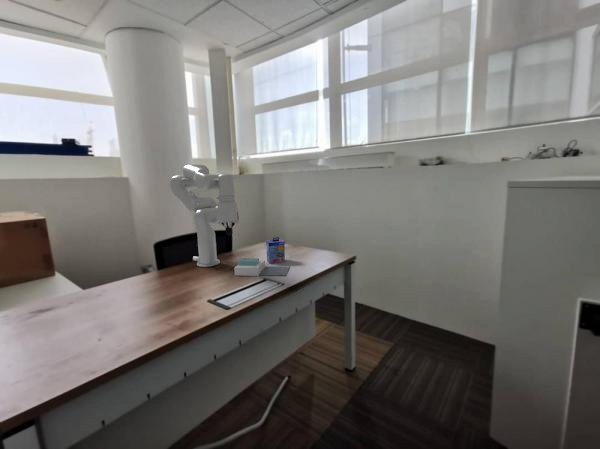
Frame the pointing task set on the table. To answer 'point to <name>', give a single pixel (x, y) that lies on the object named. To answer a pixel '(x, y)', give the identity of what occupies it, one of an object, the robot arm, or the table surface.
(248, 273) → the grey flat block
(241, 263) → the teal tile
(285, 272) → the mat
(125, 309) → the table surface
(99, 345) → the table surface
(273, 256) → the ink cartridge box
